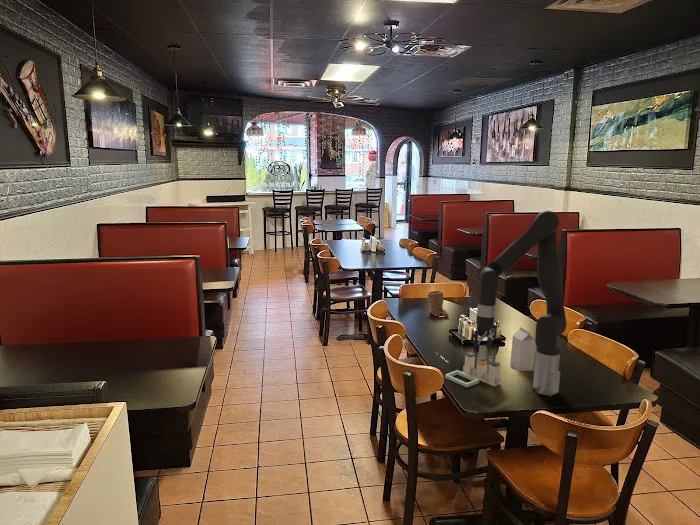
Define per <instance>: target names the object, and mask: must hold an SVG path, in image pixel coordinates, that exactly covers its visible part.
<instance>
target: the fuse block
mask: <svg viewBox="0 0 700 525" xmlns="http://www.w3.org/2000/svg"><path fill="white" fill-rule="evenodd" d="M464 356H465V357H464V358H465V359H464V365H462V372H463V373H465V374H468V375H470V376H472V377H475V378H476V369H477V368H475V363H476V353H474V352H471V351H468V352H465V355H464ZM500 367H501V363H500V362H499V361H495V360H493V361H490V362H489V366H488V372H486V374H483V379H482V380H481V379H479V378H477V379H479V382H480V381H481V382H483V383H485V384H487V385H491V386H492V387H497V386H500V385H502V383H503V382H501V378H499V377H500Z"/></svg>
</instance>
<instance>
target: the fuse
mask: <svg viewBox="0 0 700 525" xmlns="http://www.w3.org/2000/svg"><path fill="white" fill-rule="evenodd" d="M487 367H488V358H487V357H484V356H478V357H477V358H476V368H475V369H476V378H479V379H481V380H482V379H483V374H486V373H487Z"/></svg>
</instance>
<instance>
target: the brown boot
mask: <svg viewBox="0 0 700 525" xmlns="http://www.w3.org/2000/svg"><path fill="white" fill-rule="evenodd" d="M427 298H428V302H429V304H430V310H429V313H430V314H432V315H433V316H434V315H436V316H446V317H445V318H448V317H450V315H449V313H448V312H447V311H446V310H445V309H444V308H443V304H444V292H443V291H441V290H432V291H428V293H427ZM436 316H435V317H436Z"/></svg>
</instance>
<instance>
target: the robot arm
mask: <svg viewBox="0 0 700 525" xmlns="http://www.w3.org/2000/svg"><path fill="white" fill-rule="evenodd" d="M559 226H560V218H559V216H558V215H557V214H556V213H555V212H554V211H551V210H544V211H541V212H539V213H538V214H537V215H536V216H535V218H534V220H533V223H532V224H531V225H530V226H529V227H528V229H527V230H526V231H525V232H524V233H523V234H522V235H521V236H520V237H519V238H517V239H515V241H514V242H512V243H511V244H510V245H508V247H507V248H505V249H504V250H503V251H502V252H501V253H500V254H499V255H498V256H497V257H496V258H495V259H494V260H492V261H491V262H489V263H488V264H487V265H485V267H484V268H482V270H481V271H480V274H479V277H480V291H479V294H478V304H477V308H476V320H475V323H476V325H477V328H472V329H471V333H470V334H471V335H470V343H472V344H473V353H474V352H475V353H477V354H478V353H479V352H480V344H481V342H482V341H483V340H484V338H485V339H486V338H487V339H486V348H487V349H490V350H491V349H492V348H493V347H492V346H493V341H494V339H497V332H498V326H497V325H496V324H495V322H496V321H495V320H496V302H497V291H498V288H499V287H498V286H499V277H500V276H501V275H502V274H503V273H504V272H507V271H509V270H511V268H513V266H515V265H516V264H517V263H518V262H519V261H520V260H521V259H522V258H524V256H525V255H526V254H527V253H528V252H529V251H530V250H531V249H532V248H534V246H536V244H537V255H536V256H537V260H536V262H537V265H536V270H537V272H536V274H537V283H538V286H539V288H540V291H541V292H542V294H543V296H544V298H545V303H546V314H543V315H542V316H540V317H538V319H537V322H536V324H535V338H534V339H535V346H536V351H535V360H534V362H535V363H534V370H533V372H534V373H533V380H532V381H533V383H532V387H533V389H532V390H533V392H534V393H537V394H540V395H543V396H548V397H553V396H554V395H556V394H558V393H559V388H560V379H561V370H559V368H560V360H561V350H562V349H561V346H560V345H559V344H557V340H558V339H557V338H558V336H559V335H562V334H564V332H565V331H566V330H567V325H568V324H567V316H566V311H565V310H566V309H565V306H564V292H563V274H562V264H561V258H560V254H559V249H558V245H557V244H558V243H557V238H558V235H557V234H558V233H557V232H558V228H559Z"/></svg>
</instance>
